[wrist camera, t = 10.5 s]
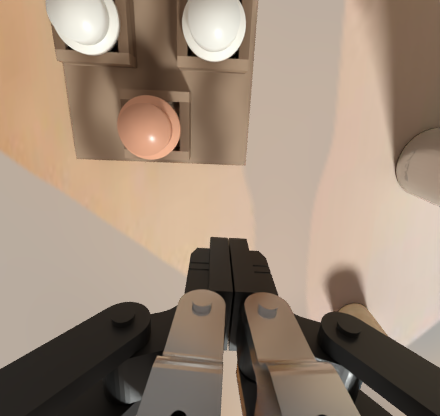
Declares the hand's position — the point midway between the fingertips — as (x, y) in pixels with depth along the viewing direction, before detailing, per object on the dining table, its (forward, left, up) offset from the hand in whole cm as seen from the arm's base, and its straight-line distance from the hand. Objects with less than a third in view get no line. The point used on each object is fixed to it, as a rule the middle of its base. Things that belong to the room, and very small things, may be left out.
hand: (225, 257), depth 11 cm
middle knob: (+7, -4, -21) cm, 23 cm away
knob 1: (+13, -13, -24) cm, 30 cm away
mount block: (+7, -9, -25) cm, 28 cm away
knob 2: (+1, -13, -24) cm, 27 cm away
